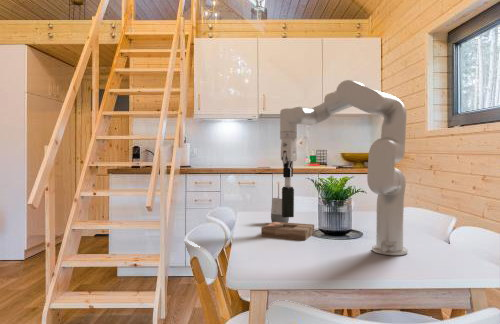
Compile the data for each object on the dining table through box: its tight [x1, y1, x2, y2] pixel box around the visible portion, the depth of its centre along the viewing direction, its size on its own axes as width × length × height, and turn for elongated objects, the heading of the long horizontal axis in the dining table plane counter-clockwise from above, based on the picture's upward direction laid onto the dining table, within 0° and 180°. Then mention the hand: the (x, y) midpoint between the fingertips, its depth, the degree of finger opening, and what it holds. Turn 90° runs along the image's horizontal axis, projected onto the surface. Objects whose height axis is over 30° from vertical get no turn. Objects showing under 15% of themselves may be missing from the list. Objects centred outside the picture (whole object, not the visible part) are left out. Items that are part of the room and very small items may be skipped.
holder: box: [260, 221, 315, 241], centre depth 176 cm, size 16×20×4 cm
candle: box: [281, 169, 295, 218], centre depth 175 cm, size 5×5×25 cm
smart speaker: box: [270, 197, 290, 223], centre depth 202 cm, size 10×9×14 cm
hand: (288, 176), depth 175 cm, fingers closed on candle, 3 cm apart
